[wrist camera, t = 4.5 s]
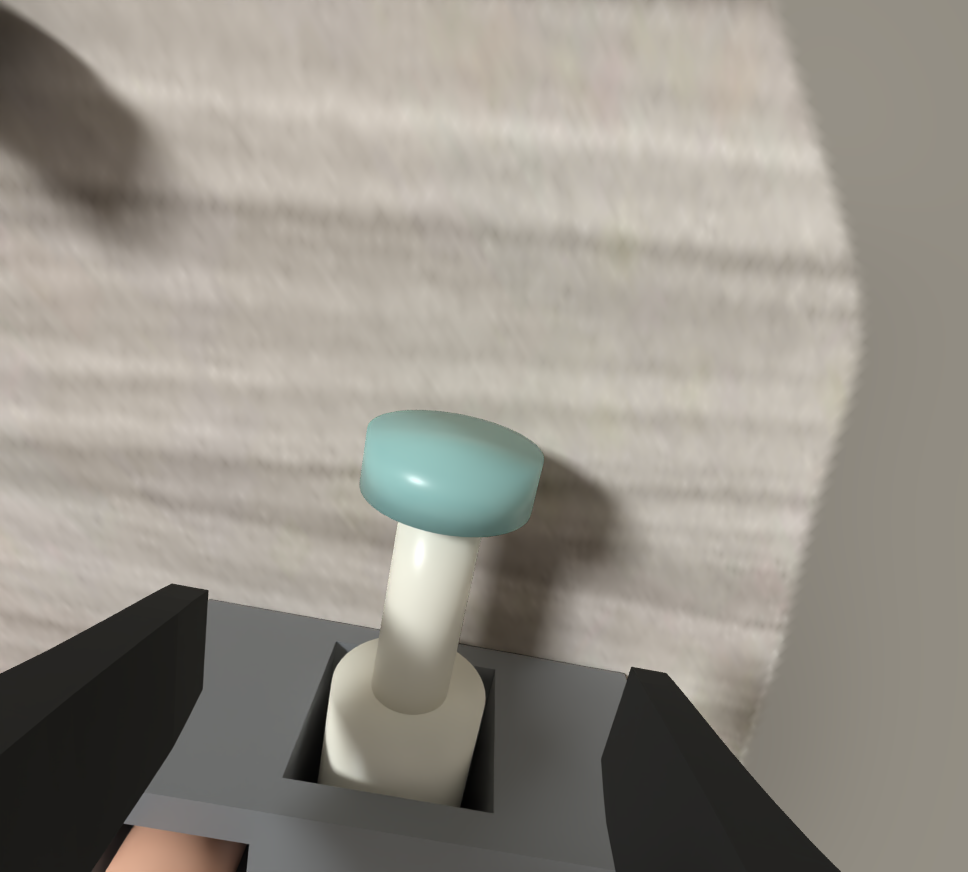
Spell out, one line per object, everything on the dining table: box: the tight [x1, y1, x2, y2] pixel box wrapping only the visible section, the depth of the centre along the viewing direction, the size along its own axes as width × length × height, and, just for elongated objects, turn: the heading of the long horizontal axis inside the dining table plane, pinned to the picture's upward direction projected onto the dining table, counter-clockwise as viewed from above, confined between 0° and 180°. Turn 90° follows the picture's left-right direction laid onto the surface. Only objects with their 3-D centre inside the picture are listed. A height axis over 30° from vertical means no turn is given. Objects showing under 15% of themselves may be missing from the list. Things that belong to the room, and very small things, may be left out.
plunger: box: [105, 825, 247, 872], centre depth 13 cm, size 2×2×3 cm
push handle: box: [317, 410, 544, 808], centre depth 15 cm, size 14×4×4 cm, turn 169°
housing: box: [91, 599, 627, 872], centre depth 16 cm, size 8×12×6 cm, turn 79°
